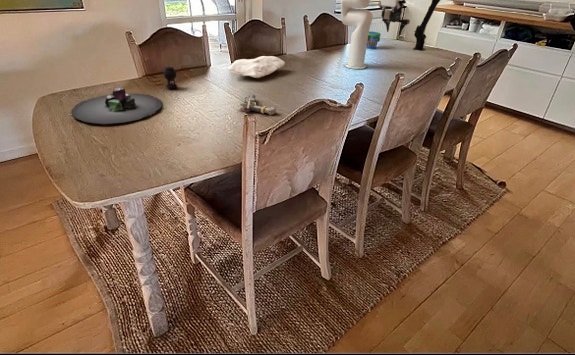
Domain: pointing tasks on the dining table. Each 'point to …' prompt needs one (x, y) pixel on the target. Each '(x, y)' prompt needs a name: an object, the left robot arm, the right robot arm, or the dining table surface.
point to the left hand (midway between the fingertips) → (387, 17)
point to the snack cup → (373, 39)
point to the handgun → (255, 106)
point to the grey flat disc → (116, 108)
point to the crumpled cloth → (256, 66)
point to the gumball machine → (170, 77)
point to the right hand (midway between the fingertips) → (393, 33)
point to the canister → (387, 14)
